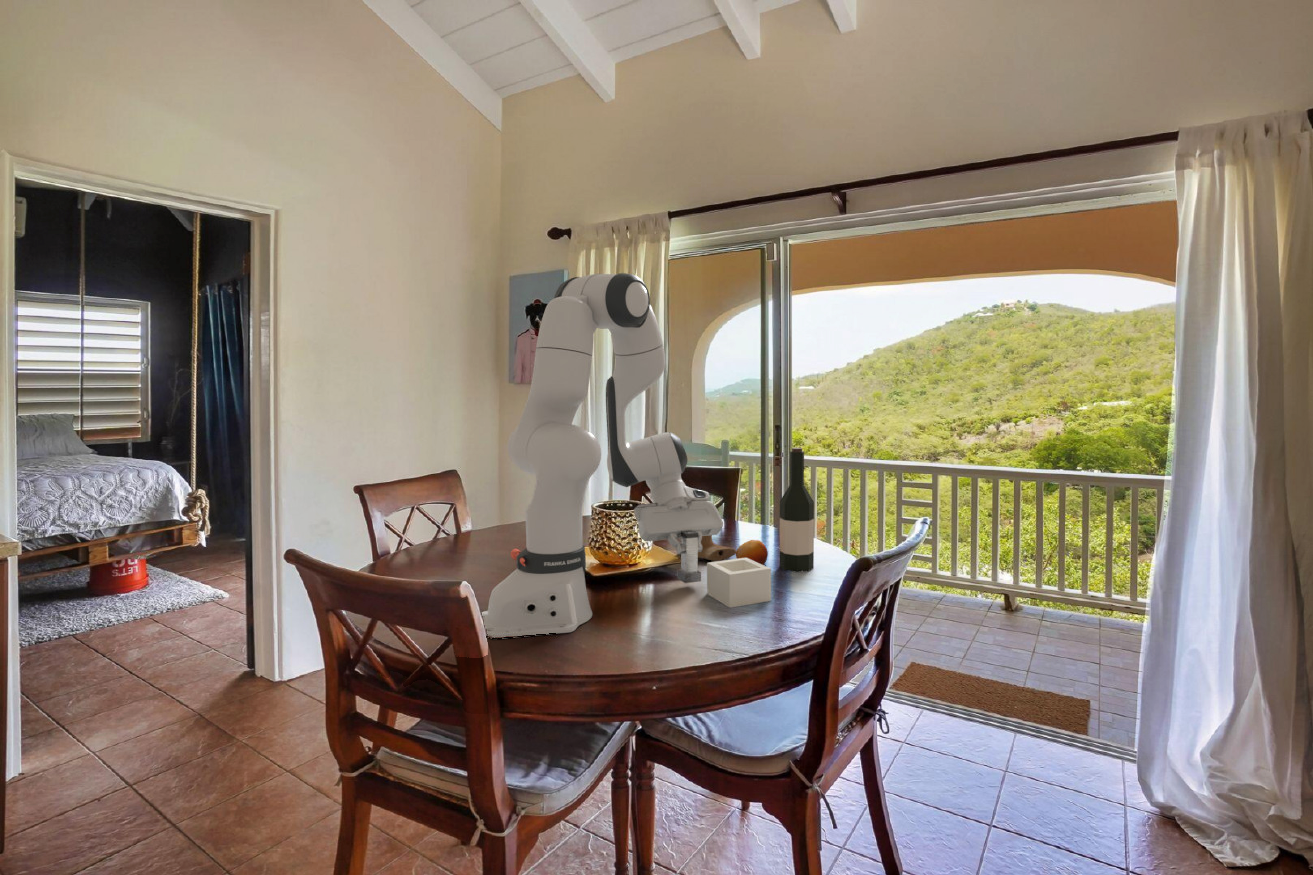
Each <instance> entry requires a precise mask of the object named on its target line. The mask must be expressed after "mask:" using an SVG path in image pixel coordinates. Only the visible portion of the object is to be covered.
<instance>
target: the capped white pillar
mask: <svg viewBox="0 0 1313 875" xmlns="http://www.w3.org/2000/svg"><path fill="white" fill-rule="evenodd" d="M680 544H684V545H685V548H686V551H685V553H684V554H680V556H681V557H680V569H677V580H680V581H681V582H682V583H684V584H690V583H696V582H697V583H698V582H702V572H701V571H699V570H698V565H699V562H698V560H699V558H698V533H697V532H695V531H693V530H691V531H681V538H680Z"/></svg>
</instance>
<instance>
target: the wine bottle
mask: <svg viewBox="0 0 1313 875" xmlns="http://www.w3.org/2000/svg"><path fill="white" fill-rule="evenodd" d="M782 495H783V496H782V497H781V498H780V500H779V567H780V568H781V570H784V571H787V570H790V571H789V572H794V571H795V572H796V573H799V572H800V573H801V571H803V572H810V571H812V570H813V569H814V567H815V566H814V563H815V562H814V560H815V559H814V553H815V552H814V550H815V548H814V544H815V542H814V540H815V537H814V536H815V535H814V533H815V531H814V530H815V527H814V526H815V502H814V500H813V497H812V496H811V494H810V493H809V491H808V490H807V487H806V486H805V451H803V448H802V447H792V448H791V451H789V486H788V487H787V489H786V490H785V492H784V493H783V494H782ZM809 570H810V571H809ZM795 572H794V573H795Z"/></svg>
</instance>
